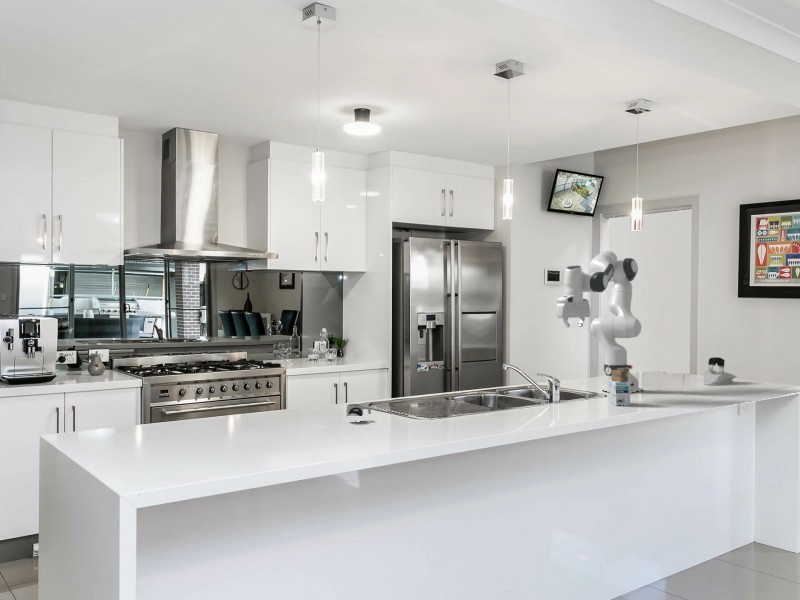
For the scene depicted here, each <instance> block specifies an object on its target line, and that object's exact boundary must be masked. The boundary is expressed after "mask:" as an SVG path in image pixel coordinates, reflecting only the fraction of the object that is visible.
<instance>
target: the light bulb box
mask: <svg viewBox="0 0 800 600" xmlns="http://www.w3.org/2000/svg"><path fill="white" fill-rule="evenodd" d="M609 403H610V404H612V405H613V404H614V405H613V406H615V405H616V406H615V407H619V406H618V405H621V406H620V407H629V406H630V407H631V393H630V383H629V382H626V381H625V382H616V381H612V380H610V392H609ZM623 405H624V406H623Z"/></svg>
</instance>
